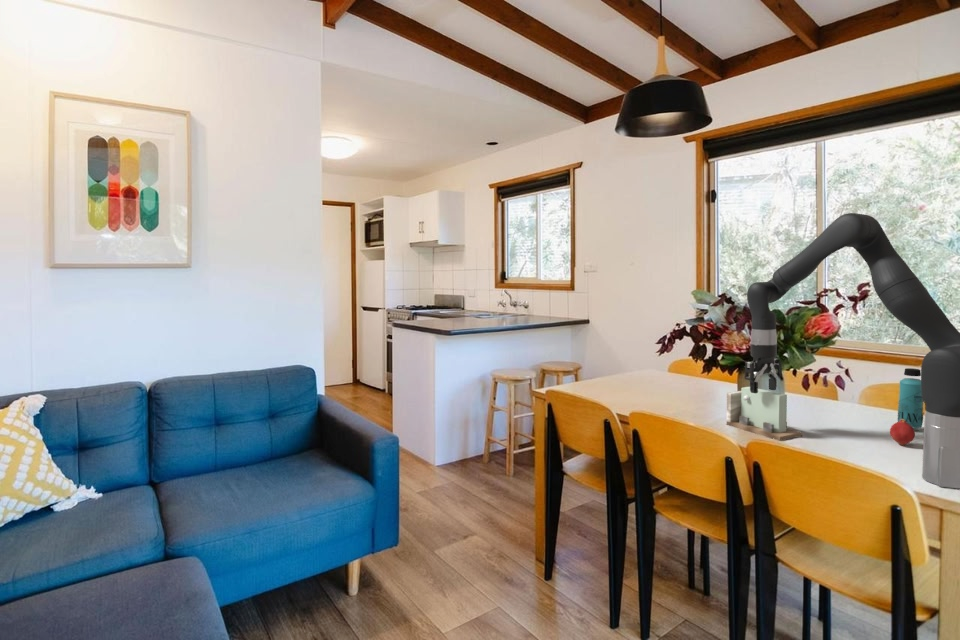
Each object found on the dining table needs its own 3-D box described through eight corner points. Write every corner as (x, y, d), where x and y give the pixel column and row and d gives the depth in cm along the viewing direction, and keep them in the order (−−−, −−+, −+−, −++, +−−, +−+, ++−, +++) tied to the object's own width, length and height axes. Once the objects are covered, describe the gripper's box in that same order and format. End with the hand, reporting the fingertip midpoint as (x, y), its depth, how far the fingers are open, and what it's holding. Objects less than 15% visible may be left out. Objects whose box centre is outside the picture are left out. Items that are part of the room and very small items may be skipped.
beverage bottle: (892, 428, 169) (894, 368, 168) (904, 425, 172) (907, 366, 170) (915, 433, 163) (917, 371, 161) (927, 430, 166) (930, 369, 164)
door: (786, 431, 165) (786, 394, 164) (776, 433, 163) (777, 396, 163) (748, 420, 178) (748, 386, 177) (738, 422, 176) (739, 388, 175)
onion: (889, 440, 157) (890, 415, 156) (914, 444, 153) (915, 418, 153) (889, 445, 152) (890, 419, 152) (914, 449, 149) (915, 422, 148)
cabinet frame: (801, 436, 164) (802, 401, 163) (779, 440, 160) (780, 405, 159) (747, 420, 182) (747, 389, 181) (726, 424, 178) (726, 392, 177)
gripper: (768, 340, 175) (768, 387, 176) (738, 343, 169) (737, 391, 171) (789, 342, 168) (788, 391, 169) (758, 345, 163) (758, 396, 164)
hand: (763, 391), depth 170 cm, fingers open, 8 cm apart
